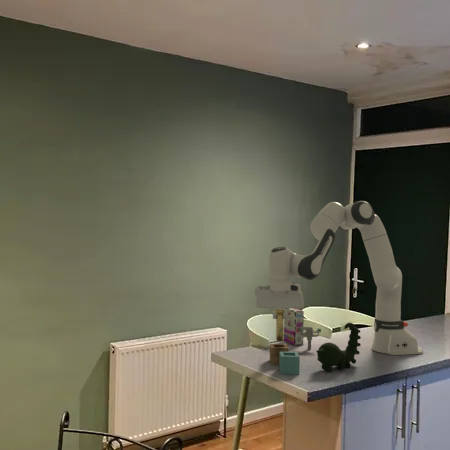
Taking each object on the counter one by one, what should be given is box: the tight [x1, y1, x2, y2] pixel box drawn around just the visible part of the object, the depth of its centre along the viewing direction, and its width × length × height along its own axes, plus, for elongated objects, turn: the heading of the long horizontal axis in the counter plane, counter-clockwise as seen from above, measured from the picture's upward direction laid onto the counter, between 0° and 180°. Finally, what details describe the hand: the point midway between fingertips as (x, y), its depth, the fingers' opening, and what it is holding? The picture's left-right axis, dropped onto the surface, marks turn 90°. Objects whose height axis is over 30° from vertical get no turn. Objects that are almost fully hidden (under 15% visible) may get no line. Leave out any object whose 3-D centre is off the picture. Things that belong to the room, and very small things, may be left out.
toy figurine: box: [315, 322, 362, 372], centre depth 218 cm, size 9×19×25 cm
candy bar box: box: [283, 308, 305, 346], centre depth 260 cm, size 11×5×16 cm, turn 23°
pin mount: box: [269, 343, 289, 366], centre depth 226 cm, size 7×7×7 cm
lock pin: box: [274, 308, 285, 342], centre depth 225 cm, size 4×4×13 cm
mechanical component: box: [298, 326, 322, 351], centre depth 248 cm, size 3×10×10 cm, turn 78°
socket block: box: [278, 351, 301, 375], centre depth 213 cm, size 7×7×7 cm
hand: (279, 318), depth 225 cm, fingers closed on lock pin, 3 cm apart
